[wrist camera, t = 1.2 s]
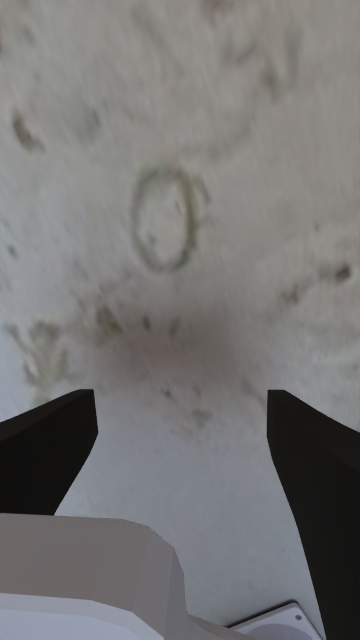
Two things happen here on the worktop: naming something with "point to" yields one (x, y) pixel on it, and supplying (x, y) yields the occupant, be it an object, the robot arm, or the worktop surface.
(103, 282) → the worktop surface
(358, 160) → the worktop surface
